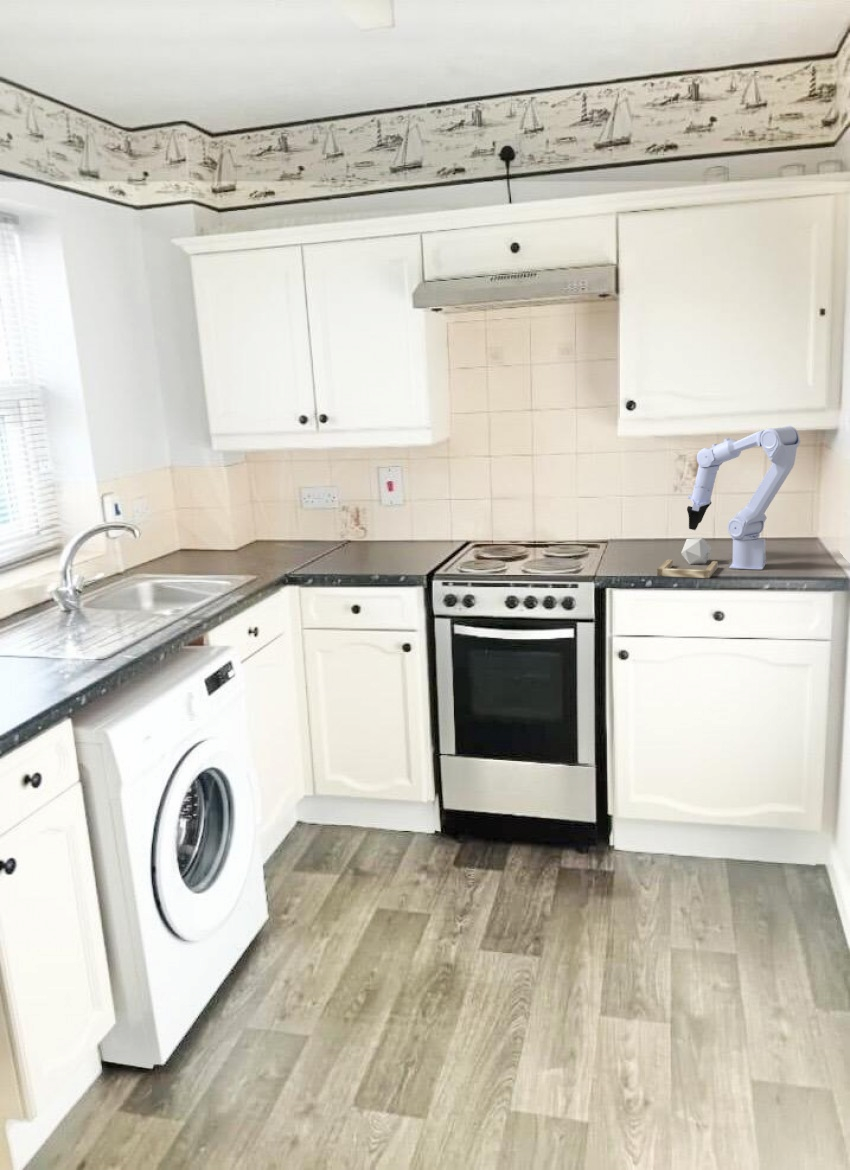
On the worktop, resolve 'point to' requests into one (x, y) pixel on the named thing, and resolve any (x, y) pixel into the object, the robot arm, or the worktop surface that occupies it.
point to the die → (696, 551)
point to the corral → (686, 570)
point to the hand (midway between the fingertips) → (694, 525)
